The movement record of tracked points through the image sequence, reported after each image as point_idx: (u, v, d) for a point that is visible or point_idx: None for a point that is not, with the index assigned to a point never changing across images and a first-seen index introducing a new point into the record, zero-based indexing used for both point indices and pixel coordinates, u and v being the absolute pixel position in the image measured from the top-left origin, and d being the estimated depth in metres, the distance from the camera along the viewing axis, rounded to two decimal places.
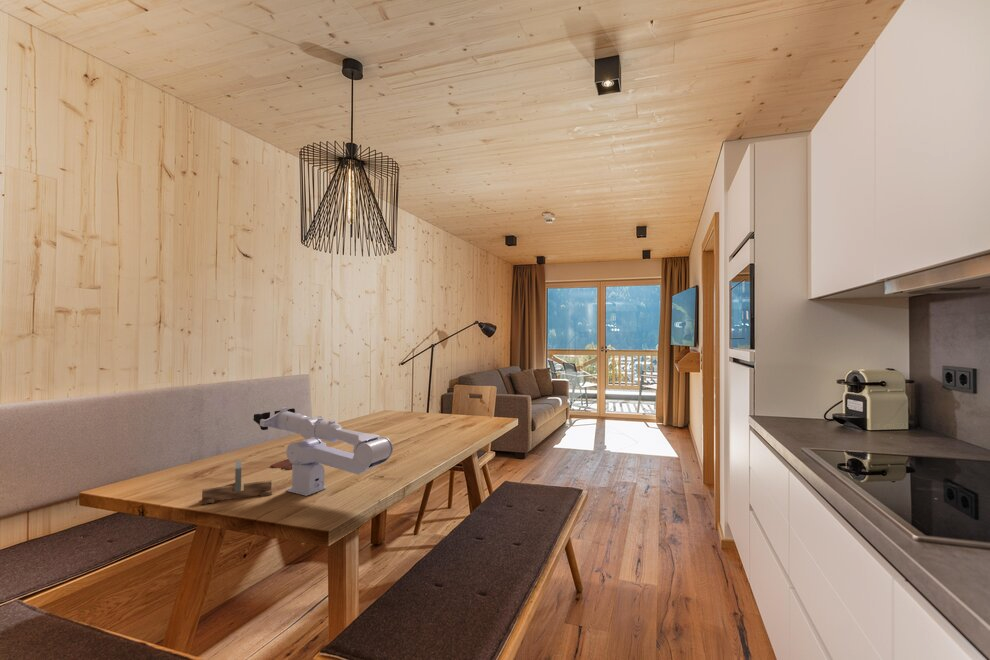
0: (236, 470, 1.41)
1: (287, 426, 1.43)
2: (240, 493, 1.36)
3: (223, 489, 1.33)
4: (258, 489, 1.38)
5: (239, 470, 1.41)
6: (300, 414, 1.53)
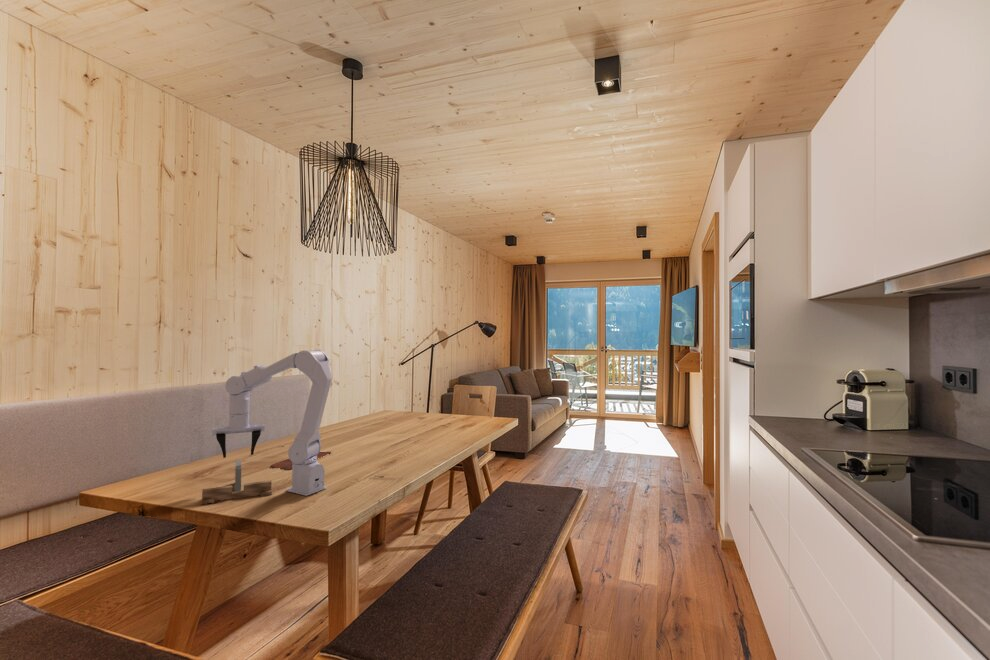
0: (236, 470, 1.41)
1: (235, 412, 1.43)
2: (240, 493, 1.36)
3: (223, 489, 1.33)
4: (258, 489, 1.38)
5: (239, 470, 1.41)
6: None
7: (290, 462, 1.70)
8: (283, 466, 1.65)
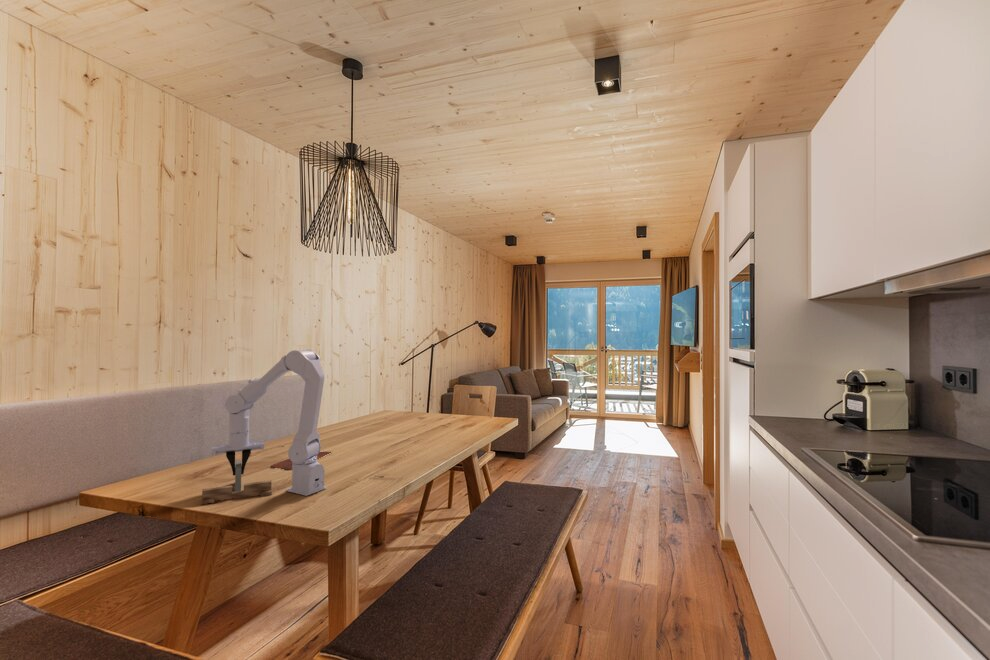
0: (236, 470, 1.41)
1: (235, 431, 1.42)
2: (240, 493, 1.36)
3: (223, 489, 1.33)
4: (258, 489, 1.38)
5: (239, 470, 1.41)
6: None
7: (290, 462, 1.70)
8: (283, 466, 1.65)
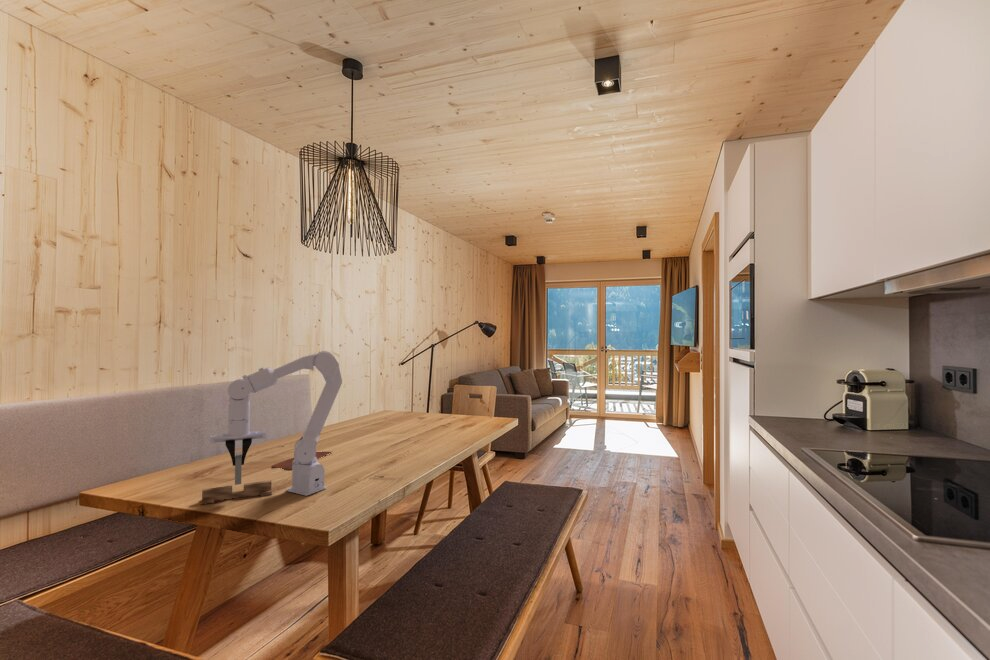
0: (236, 462, 1.31)
1: (240, 418, 1.34)
2: (240, 493, 1.36)
3: (223, 489, 1.33)
4: (258, 489, 1.38)
5: (239, 462, 1.32)
6: (262, 431, 1.40)
7: (291, 462, 1.69)
8: (285, 466, 1.65)
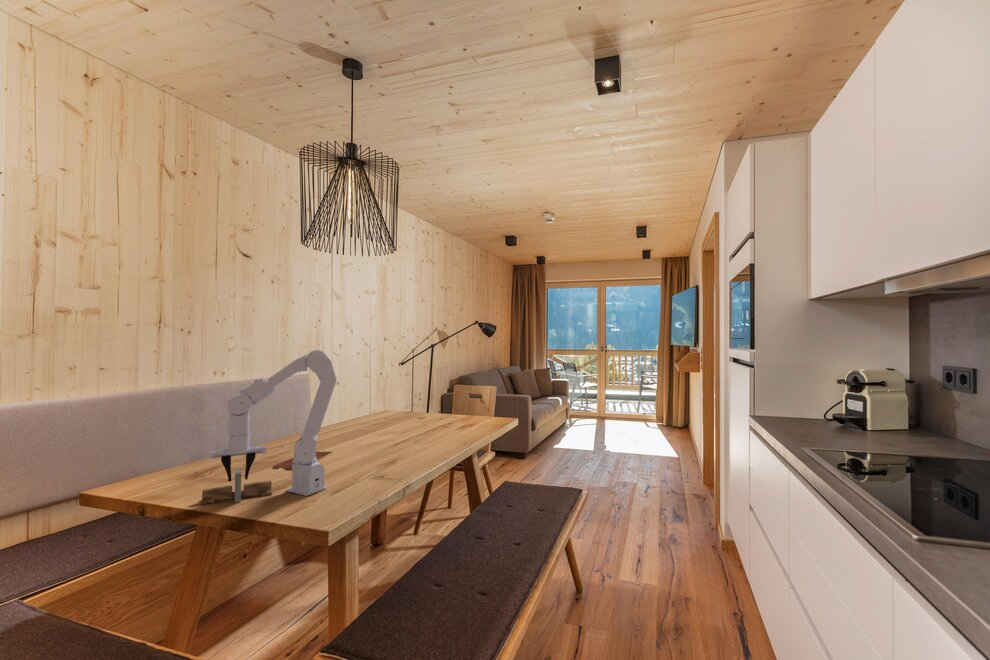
0: (236, 480, 1.31)
1: (240, 433, 1.34)
2: None
3: (223, 489, 1.33)
4: (258, 489, 1.38)
5: (239, 480, 1.32)
6: (262, 446, 1.40)
7: None
8: (286, 467, 1.65)
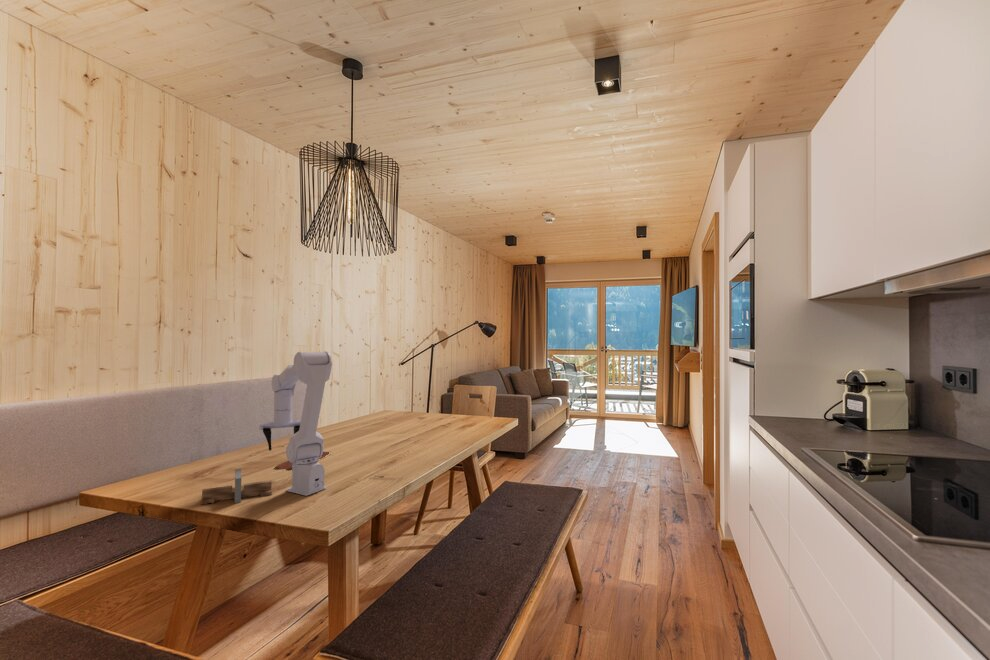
0: (236, 480, 1.31)
1: (275, 408, 1.54)
2: None
3: (223, 489, 1.33)
4: (258, 489, 1.38)
5: (239, 480, 1.32)
6: None
7: None
8: (289, 467, 1.65)
